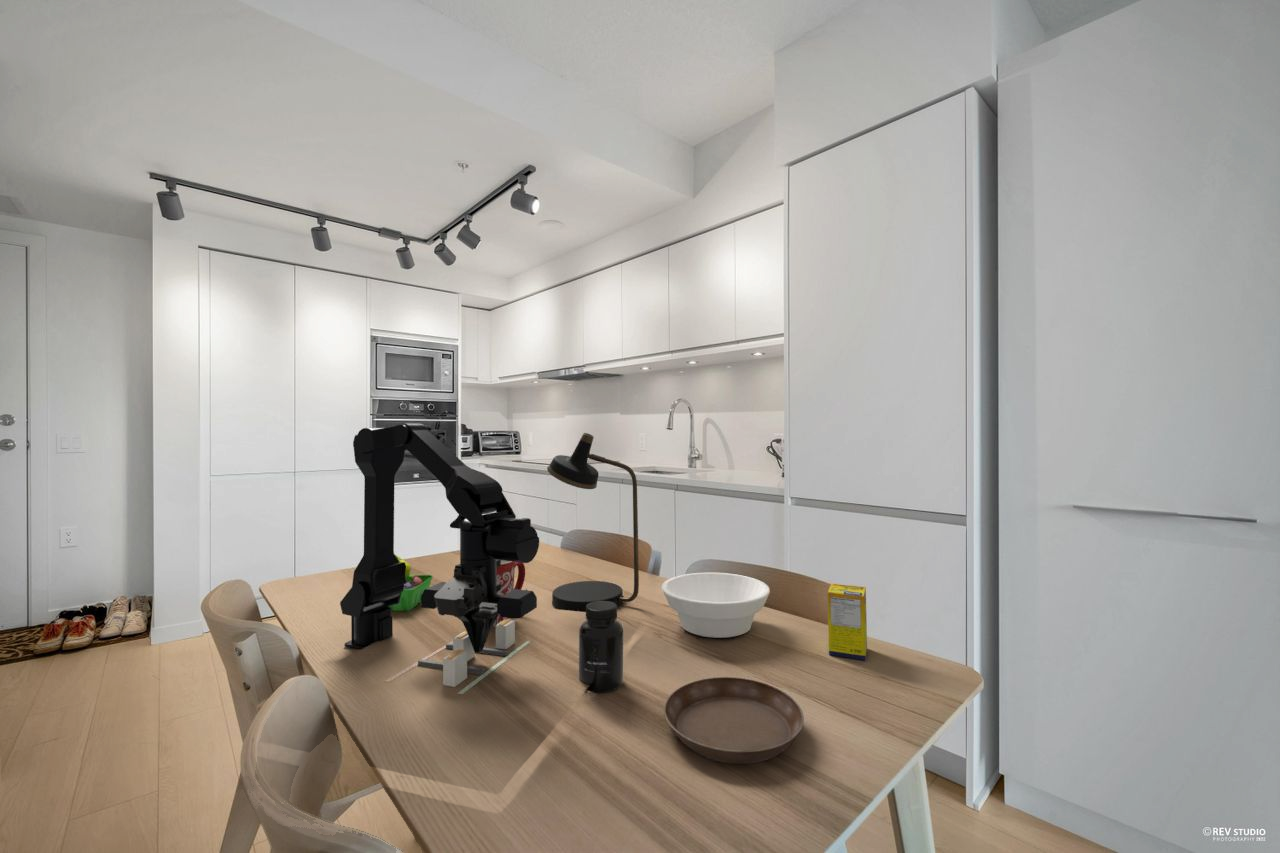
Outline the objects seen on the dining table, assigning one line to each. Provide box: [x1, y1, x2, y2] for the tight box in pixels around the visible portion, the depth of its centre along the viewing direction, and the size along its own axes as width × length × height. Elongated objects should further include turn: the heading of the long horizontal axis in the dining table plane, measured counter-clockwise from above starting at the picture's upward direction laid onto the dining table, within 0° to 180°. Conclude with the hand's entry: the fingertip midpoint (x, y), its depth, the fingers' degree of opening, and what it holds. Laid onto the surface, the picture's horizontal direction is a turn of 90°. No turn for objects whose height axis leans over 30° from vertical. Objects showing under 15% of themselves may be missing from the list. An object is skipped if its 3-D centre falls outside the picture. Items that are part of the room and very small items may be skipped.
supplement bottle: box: [578, 601, 624, 694], centre depth 82 cm, size 7×7×12 cm
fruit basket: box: [389, 554, 433, 612], centre depth 121 cm, size 11×9×11 cm
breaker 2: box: [495, 618, 516, 651], centre depth 94 cm, size 2×3×4 cm, turn 163°
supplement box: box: [827, 583, 868, 661], centre depth 93 cm, size 6×6×11 cm
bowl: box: [661, 572, 771, 639], centre depth 105 cm, size 21×21×8 cm
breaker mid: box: [452, 631, 476, 662], centre depth 88 cm, size 2×3×4 cm, turn 163°
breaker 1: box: [442, 649, 468, 688], centre depth 80 cm, size 2×3×4 cm, turn 163°
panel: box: [384, 640, 532, 695], centre depth 88 cm, size 14×22×2 cm, turn 163°
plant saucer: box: [663, 676, 805, 765], centre depth 69 cm, size 18×18×3 cm
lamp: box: [546, 432, 640, 613], centre depth 121 cm, size 16×22×38 cm
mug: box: [486, 560, 526, 628], centre depth 108 cm, size 13×9×14 cm
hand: (478, 651), depth 87 cm, fingers closed
